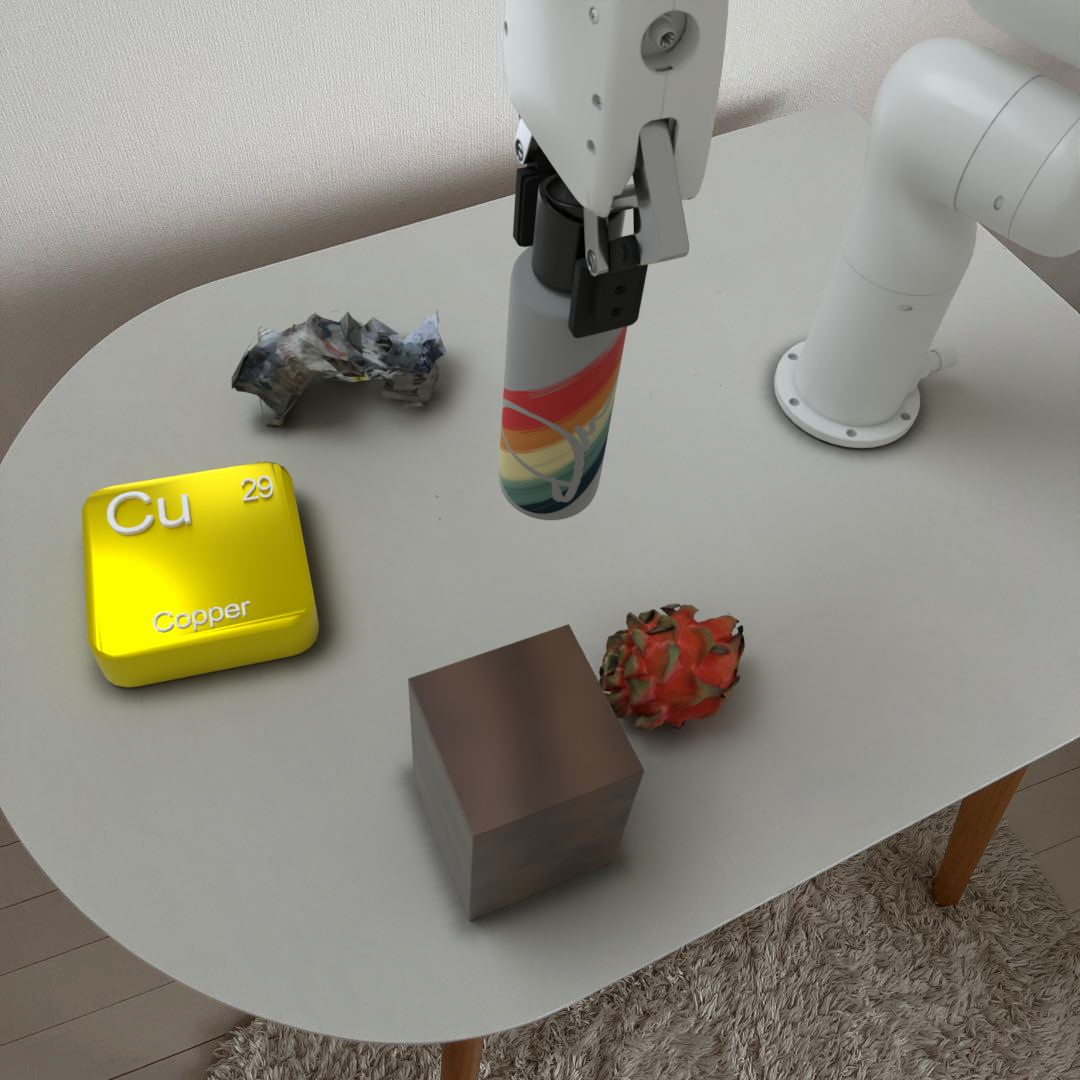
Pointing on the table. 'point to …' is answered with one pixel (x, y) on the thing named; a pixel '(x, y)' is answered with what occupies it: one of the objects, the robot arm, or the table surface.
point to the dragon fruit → (671, 666)
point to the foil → (340, 359)
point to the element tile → (196, 574)
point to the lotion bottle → (555, 370)
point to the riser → (521, 768)
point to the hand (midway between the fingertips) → (573, 278)
